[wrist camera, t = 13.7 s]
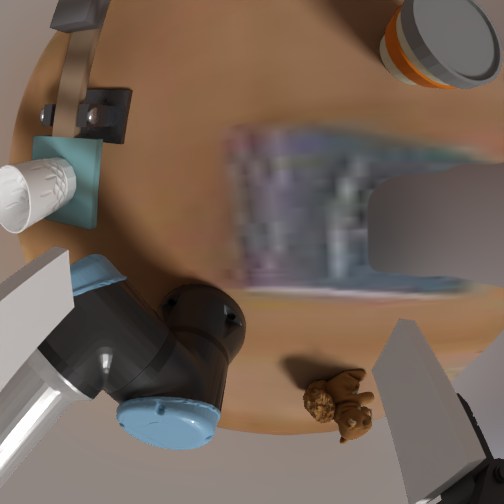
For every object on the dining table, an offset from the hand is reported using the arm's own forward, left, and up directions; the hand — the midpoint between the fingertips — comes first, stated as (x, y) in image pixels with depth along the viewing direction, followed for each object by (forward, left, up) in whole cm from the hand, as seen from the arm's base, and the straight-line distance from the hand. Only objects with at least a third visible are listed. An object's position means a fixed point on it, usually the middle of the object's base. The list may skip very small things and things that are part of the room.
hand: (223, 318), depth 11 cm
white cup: (-3, +27, -24) cm, 36 cm away
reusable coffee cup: (+24, -16, -32) cm, 43 cm away
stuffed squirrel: (-34, -22, -32) cm, 52 cm away
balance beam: (+7, +27, -25) cm, 38 cm away
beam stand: (+6, +27, -32) cm, 42 cm away
